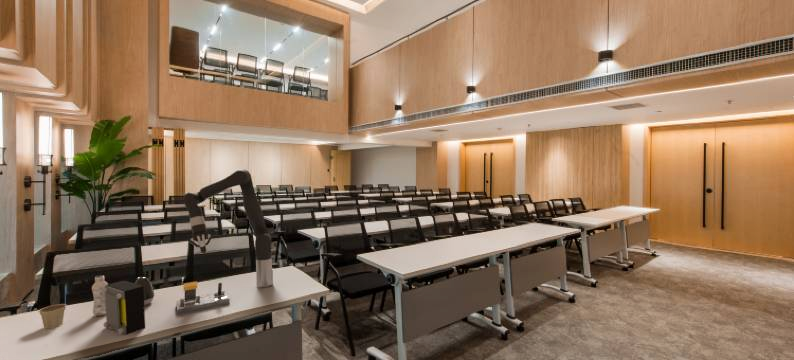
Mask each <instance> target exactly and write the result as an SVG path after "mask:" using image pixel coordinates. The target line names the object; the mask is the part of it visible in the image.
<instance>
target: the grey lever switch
mask: <svg viewBox="0 0 794 360" xmlns="http://www.w3.org/2000/svg"><path fill="white" fill-rule="evenodd" d="M222 289H223V283H222V282H218V283H217V292H213V293H208V294H204V295H203V294H202V295H200V294H199V293H196V300H195V301H190V302H185V296H181V297H179V299H178V300H176V303H175V304H176V312H177V316H180V315H184V314H185V315H186V314H191V313H194V312H199V311H203V310H207V309H213V308H217V307H221V306H227V305H229V304H230V302H231V301H230V300H231V299H230V297H229V295H228V293H227V291H226V290H222Z"/></svg>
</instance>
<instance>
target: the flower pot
mask: <svg viewBox="0 0 794 360" xmlns="http://www.w3.org/2000/svg"><path fill="white" fill-rule="evenodd" d="M66 308H67V304H66V303H61V304H59V303H58V304H54V305H53V304H52V305H49V306H46V307H43V308H40V309H39V310H38V313H39V314H40V316H41V321H42V325H43V328H44V329H47V328H48V329H53V327H54V328H56V327H59V325H60V326H62V325H63V324H64V315H65V310H66ZM61 324H62V325H61Z"/></svg>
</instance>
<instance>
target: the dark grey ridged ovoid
mask: <svg viewBox="0 0 794 360" xmlns="http://www.w3.org/2000/svg"><path fill="white" fill-rule="evenodd" d="M134 283H135V284H138V285H142V286H144V307H145V306H147V305H150V304H151V302H152V301H154V297H155V290H154V287H153V285H152V282H151V281H150V280H149V278H148V277H146V276H141V277H140V276H137V277H136V281H135V282H134Z"/></svg>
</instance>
